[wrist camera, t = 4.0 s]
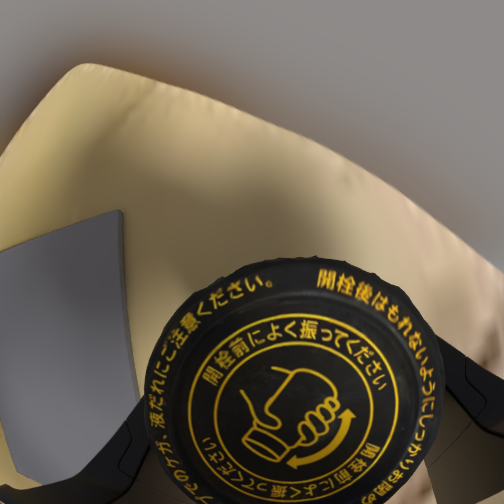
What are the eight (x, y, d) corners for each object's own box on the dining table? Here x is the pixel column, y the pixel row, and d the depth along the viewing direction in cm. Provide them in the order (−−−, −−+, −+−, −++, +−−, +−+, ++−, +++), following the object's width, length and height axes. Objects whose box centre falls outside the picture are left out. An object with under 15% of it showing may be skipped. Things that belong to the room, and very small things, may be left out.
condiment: (228, 292, 16) (101, 215, 5) (378, 283, 15) (523, 196, 4) (232, 418, 15) (131, 552, 3) (381, 408, 14) (507, 511, 2)
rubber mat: (174, 515, 13) (171, 519, 13) (20, 470, 15) (17, 472, 14) (122, 212, 19) (118, 209, 18) (-9, 259, 21) (-13, 258, 20)
